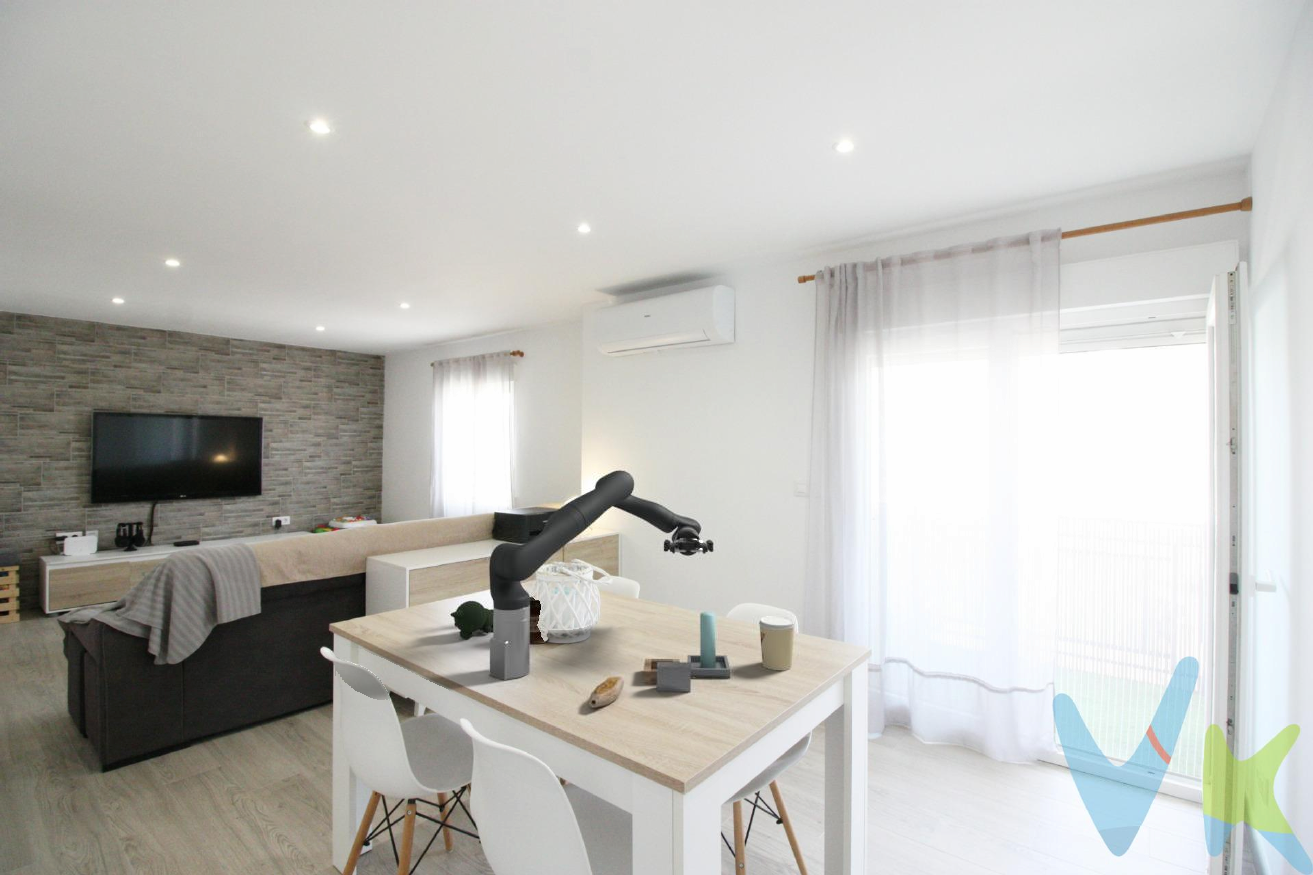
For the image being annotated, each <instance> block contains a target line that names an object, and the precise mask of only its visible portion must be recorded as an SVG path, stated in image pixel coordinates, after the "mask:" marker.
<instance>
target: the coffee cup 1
mask: <svg viewBox="0 0 1313 875" xmlns="http://www.w3.org/2000/svg"><path fill="white" fill-rule="evenodd" d="M533 597H534V596H530V644H543V643H545V642H544V640H543V638H542V637H541V632H540V630H539V628H538V626H537V624H538V621H539V615H540V610H541V604H540V601H539V600H535V599H534V598H533Z"/></svg>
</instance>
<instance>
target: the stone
mask: <svg viewBox="0 0 1313 875" xmlns="http://www.w3.org/2000/svg"><path fill="white" fill-rule="evenodd" d="M624 683H625V682H624V679H623V678H622V677H621V676H613V677H611V676H610V677H608V678H607V679H605V680H604V681H602V682H601V683H600V684H599V685H596V687H595V688H594V690H593V691H592V692H591V694H590V696H589V700H588V704H589V706H590V707H591V708H593V709H595V708H601V707H602V708H603V707H604V706H608V705H611V704H612V703H613V702H614V701H616V699H618V698H619V697H620V695H621V692H622V691H623V690H624V685H625V684H624Z"/></svg>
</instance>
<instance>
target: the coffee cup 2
mask: <svg viewBox="0 0 1313 875" xmlns="http://www.w3.org/2000/svg"><path fill="white" fill-rule="evenodd" d="M758 624H759V635H760V637H759V638H760V647H761V661H762V662H761V663H762V666H763V668H765V667H766V668H765V669H767V668H768V669H767V670H770V669H773V670H772V671H776V670H783V671H787V669H788V670H790V669H791V668H792V667H793V666H792V665H793V655H794V654H793V653H794V652H793V650H794V639H795V638H794V637H795V636H794V635H795V625H796V624H795V623H794V620H793V619H792V618H789V617H786V616H779V615H772V616H771V615H770V616H763V617H761V618H760V621H759V622H758Z"/></svg>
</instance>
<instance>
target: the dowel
mask: <svg viewBox="0 0 1313 875" xmlns="http://www.w3.org/2000/svg"><path fill="white" fill-rule="evenodd" d="M699 614H700V615H699V618H700V619H699V620H700V621H699V622H700V624H699V629H700V630H699V634H700V635H699V636H700V637H699V639H700V641H699V642H700V644H699V645H700V646H699V648H700V652H699V655H700V668H716V655H717V654H716V653H717V652H716V650H717V649H716V648H717V647H716V645H717V642H716V641H717V640H716V639H717V638H716V634H717V633H716V631H717V630H716V628H717V627H716V626H717V625H716V624H717V622H716V621H717V620H716V619H717V618H716V616H717V615H716V613H715V612H712V611H711V612H709V611H704V612H701V613H699Z"/></svg>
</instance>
